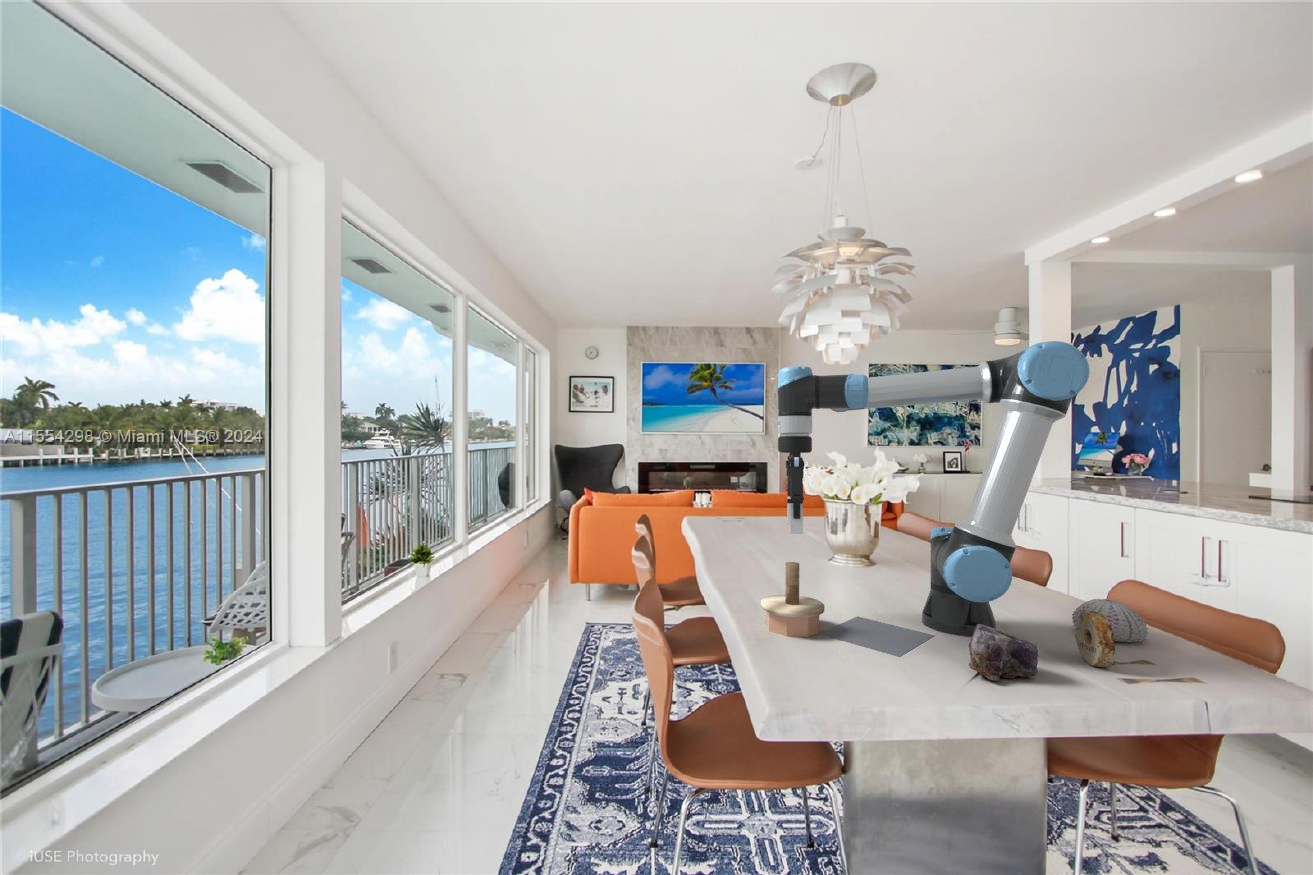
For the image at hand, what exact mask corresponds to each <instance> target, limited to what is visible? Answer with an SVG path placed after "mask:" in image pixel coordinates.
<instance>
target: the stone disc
mask: <svg viewBox="0 0 1313 875" xmlns="http://www.w3.org/2000/svg"><path fill="white" fill-rule="evenodd" d="M1079 619H1080V620H1079V624H1080V625H1079V629H1078V630H1077V629H1076V631H1075V632H1074V639H1075V642H1076V645H1077V649H1078V651H1079V653H1080V655H1081V657H1082V658H1083V659H1084V661H1085V662H1086V663H1088V664H1089V666H1092V667H1098V668H1102V667H1103V668H1106V667H1110V666H1112V664H1114V662H1115V658H1116V647H1115V646H1116V645H1115V642H1116V641H1114V636H1113V631H1112V627H1111V625H1110V622H1109V621H1108V619H1107V618H1106V617H1104V616H1103V615H1102V614H1100V613H1098V612H1095V611H1082V612H1081V613H1080V615H1079Z"/></svg>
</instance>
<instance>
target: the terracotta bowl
mask: <svg viewBox="0 0 1313 875" xmlns="http://www.w3.org/2000/svg"><path fill="white" fill-rule="evenodd" d="M765 625H766V627H767V629H768V631H769V632H771V633H774V634H777V635H780V636H783V637H790V638H792V637H795V638H801V637H802V638H808V637H810V636H812V635H815V634H818V633H820V615H817V616H813V617H787V616H781V615H776V614H773V613H770V612H767V611H765Z"/></svg>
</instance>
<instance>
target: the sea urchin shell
mask: <svg viewBox="0 0 1313 875" xmlns="http://www.w3.org/2000/svg"><path fill="white" fill-rule="evenodd" d="M1082 611H1095V612H1098V613H1100V614H1102V615H1103V616H1104V617H1106V618H1107V619H1108V621H1109V622H1110V625H1111V627H1112V631H1113V636H1114V642H1121V643H1122V642H1124V643H1139V642H1142V641H1144V640H1146V638H1147V637H1148V635H1149V631H1148V630H1149V628H1148V627H1147V623H1145V621H1144V619H1143V618H1142V616H1141V615H1140V614H1139V613H1137V612H1136V610H1134V609H1133V608H1132V607H1130V606H1129V605H1127V604H1125V603H1123V602H1120V601H1118V600H1117V601H1115V600H1113V599H1108V598H1101V599H1100V598H1094V599H1090V600H1087V601H1085V602H1083V603H1082V604H1080V605H1079V606H1078V607H1076V608H1075V610H1074V611H1073V613H1071V615H1072V617H1071V620H1072V623H1073V626H1074V628H1076V631H1077V630H1078V629H1079V625H1080V624H1079V620H1080V619H1079V615H1080V613H1081V612H1082Z"/></svg>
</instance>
